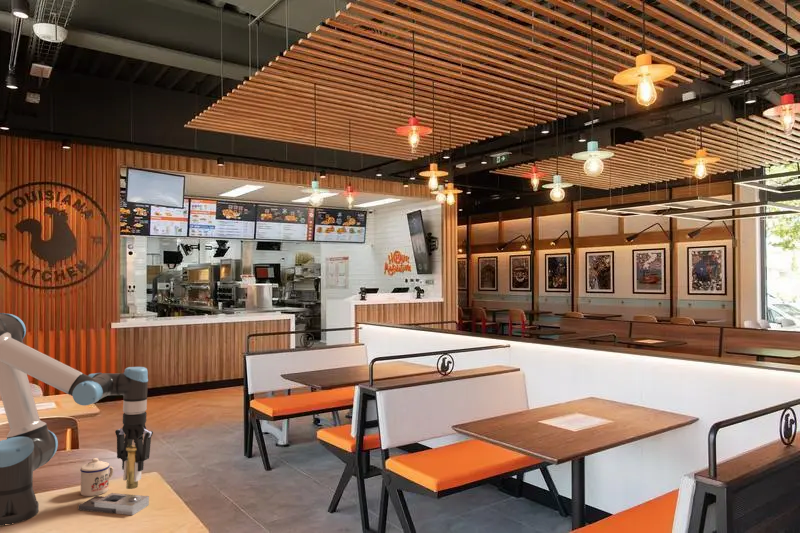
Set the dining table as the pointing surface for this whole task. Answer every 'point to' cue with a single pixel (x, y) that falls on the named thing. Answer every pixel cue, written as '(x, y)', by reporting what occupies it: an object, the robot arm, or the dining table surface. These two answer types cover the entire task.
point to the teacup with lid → (95, 477)
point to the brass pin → (131, 467)
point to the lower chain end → (90, 507)
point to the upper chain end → (123, 503)
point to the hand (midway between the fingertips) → (132, 479)
